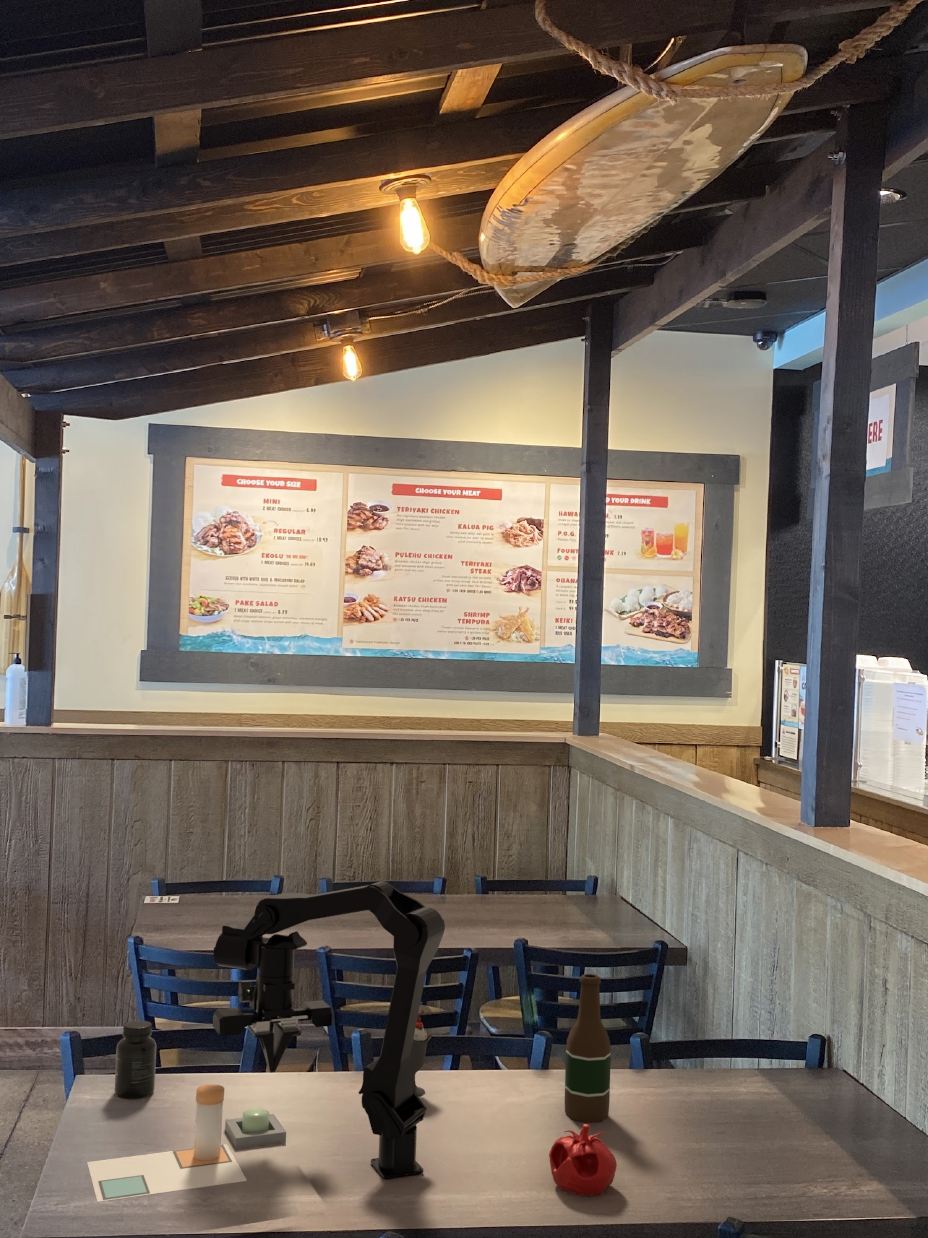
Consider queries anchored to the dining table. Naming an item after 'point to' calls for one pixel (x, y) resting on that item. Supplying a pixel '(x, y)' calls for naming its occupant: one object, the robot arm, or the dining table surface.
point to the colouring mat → (161, 1173)
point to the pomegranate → (582, 1163)
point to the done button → (255, 1121)
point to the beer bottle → (588, 1059)
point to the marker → (208, 1122)
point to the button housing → (255, 1133)
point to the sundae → (419, 1052)
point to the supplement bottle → (135, 1061)
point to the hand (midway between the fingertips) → (271, 1071)
